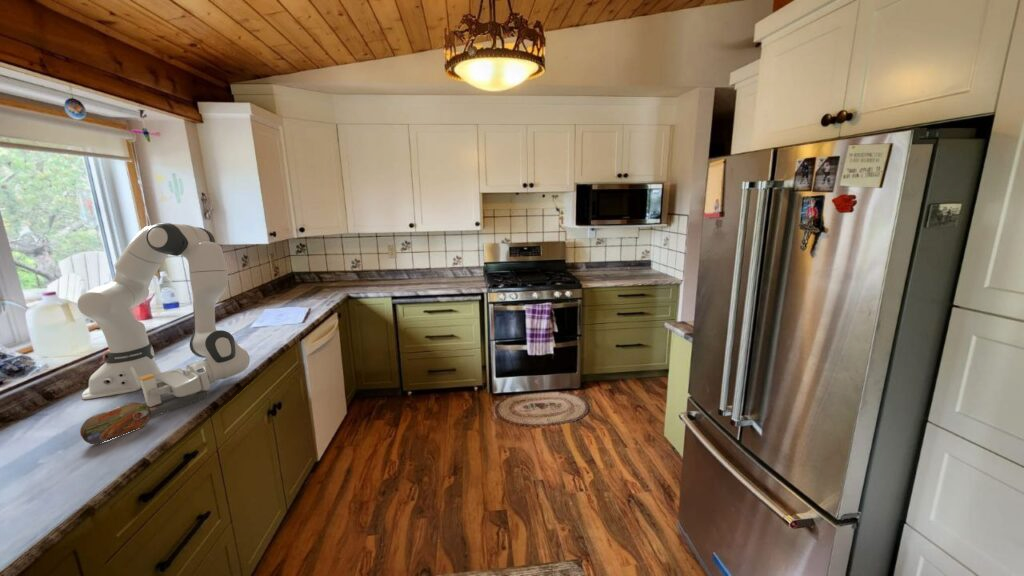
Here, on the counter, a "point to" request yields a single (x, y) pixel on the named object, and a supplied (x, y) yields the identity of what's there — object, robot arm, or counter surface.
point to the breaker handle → (149, 384)
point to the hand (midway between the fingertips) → (147, 392)
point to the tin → (115, 422)
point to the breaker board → (175, 402)
